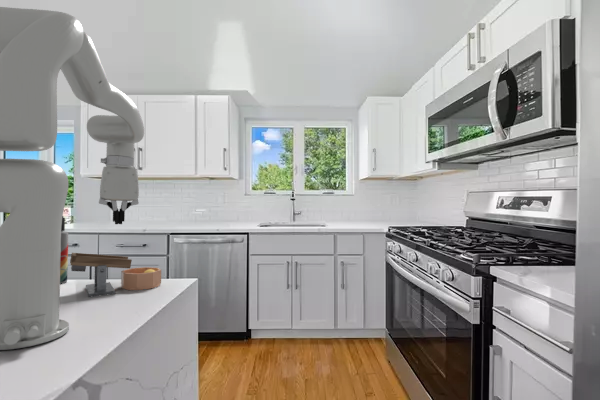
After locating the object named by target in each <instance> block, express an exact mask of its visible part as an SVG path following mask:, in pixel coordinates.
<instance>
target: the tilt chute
mask: <svg viewBox="0 0 600 400" xmlns="http://www.w3.org/2000/svg"><path fill="white" fill-rule="evenodd" d="M69 262H70V263H69V264H70V266H71V267H70V269H71V272H81V273H82V272H86V268H87V267H94V268H95V267H98V265H107V266H106V268H114V269H115V268H116V269H131V265H132V258H131V259H130V258H129V256H123V255H122V256H121V255H110V254H109V255H108V254H96V253H83V252H71V255H70V259H69Z"/></svg>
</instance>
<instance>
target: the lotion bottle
mask: <svg viewBox="0 0 600 400" xmlns="http://www.w3.org/2000/svg"><path fill="white" fill-rule="evenodd" d="M65 229H66V218H65V217H64V215H63V216H62V225H61V257H60V285H62V284H61V283H63V284H66V283H67V282H68V274H69V273H68V272H69V271H68V270H69V269H68V267H69V262H68V261H69V232H68V231H65ZM65 282H66V283H65Z"/></svg>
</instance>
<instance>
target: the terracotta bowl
mask: <svg viewBox="0 0 600 400" xmlns="http://www.w3.org/2000/svg"><path fill="white" fill-rule="evenodd" d="M148 269H152V270H154V271H155V272H150V273H144V272H145V271H146V270H148ZM120 274H121V275H120V281H121V282H120V284H121V287H120V288H121V289H122V290H124V289H125V291H143V289H146V290H152V289H155V287H156V288H158V286H159V287H161V284H162V269H160V268H159V267H147V266H145V267H144V266H143V267H142V266H141V267H134V268H133V267H132V268H131V267H130V268H126V269H123V270H121V273H120ZM151 288H152V289H151Z"/></svg>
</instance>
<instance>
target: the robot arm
mask: <svg viewBox="0 0 600 400" xmlns="http://www.w3.org/2000/svg"><path fill="white" fill-rule="evenodd" d="M60 71H61V72H62V74H63V76H64V78H65V80H66V81H67V83H68V85H69V87H70V89H71V90H72V92H73V93H72V94H74V96H75V97H76V98H77V99H78V100H79V101H82V102H83V103H85V104H88V105H90V106H93V107H96V108H99V109H101V110H105V111H107V112H109V113H112V114H114V115H107V114H106V115H105V114H100V115H99V114H98V115H93V116H91V117H90V118H89V119H88V120H87V122H86V131H87V134H88V136H89V137H90V138H91V139H93V140H94V141H96V142H98V143H103V144H106V154H105V156H106V157H104V158H101V157H100V163H102V164H103V165H104V164H105V166H103V168H102V172H101V178H100V179H101V180H100V184H99V185H100V187H99V199H98V205H99V204H100V205H103V206H107V207H108V208H109V209H110V210H111V211H112V222H114V225H123V222H125V216H126V215H125V212H126V210H127V209H129V208H130V207H131V206H136V205H139V197H140V196H139V195H140V194H139V173H138V171H137V168H135V167H134V166H135V144H137V143H140V142H141V141H142V140H143V139H144V137H145V126H144V123H143V119H142V117H141V113H140V111H139V108H138V106H137V105H136V104H135V102H134V101H133V100H132V99H131V98H130V97H129V96H127V95H126V93H124V92H123V91H121V90H120V89H118V88H117V87H115V86H114V85H112V84H111V83H110V81H109V79H108V75H107V74H106V71H105V69H104V67H103V65H102V62H101V59H100V56H99V54H98V51H97V50H96V47H95V44H94V43H93V40H92V38H91V37H90V35H88V34H87V33H86V32H85V31H84V28H83V26H82V24H81V22H80V21H79V19H77V18H76V17H75V16H73V15H71V14H69V13H66V12H62V11H57V10H48V9H47V10H46V9H37V8H36V9H33V8H18V7H9V6H8V7H6V6H0V152H41V151H46V150H48V149H52V148H53V147H54V145H55V144H56V141H57V136H58V90H57V89H58V87H57V86H58V76H59V73H60ZM68 191H69V179H68V175H67V172H66V171H64V169H63V168H62V167H61V166H59V165H58V164H56V163H54V162H52V161H48V160H43V159H34V158H33V159H32V158H0V213H6V214H8V216H7V217H6V218H5V220H4V221H3V222H2V223H1V224H0V351H6V350H7V351H8V350H9V351H10V350H16V349H24V348H29V347H34V346H37V345H41V344H45V343H47V342H51V341H54V340H56V339H58V338H61V337H62V336H64V335H65V334H66V333H68V331H69V330H70V329H69V328H70V323H69V322H68V321H67V320H65V319H60V301H61V300H60V298H61V297H60V291H61V284H60V257H61V225H62V216H64V209H65V204H66V203H67V197H68ZM118 201H119V202H121V205H120V208H118V205H117V202H118Z"/></svg>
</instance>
